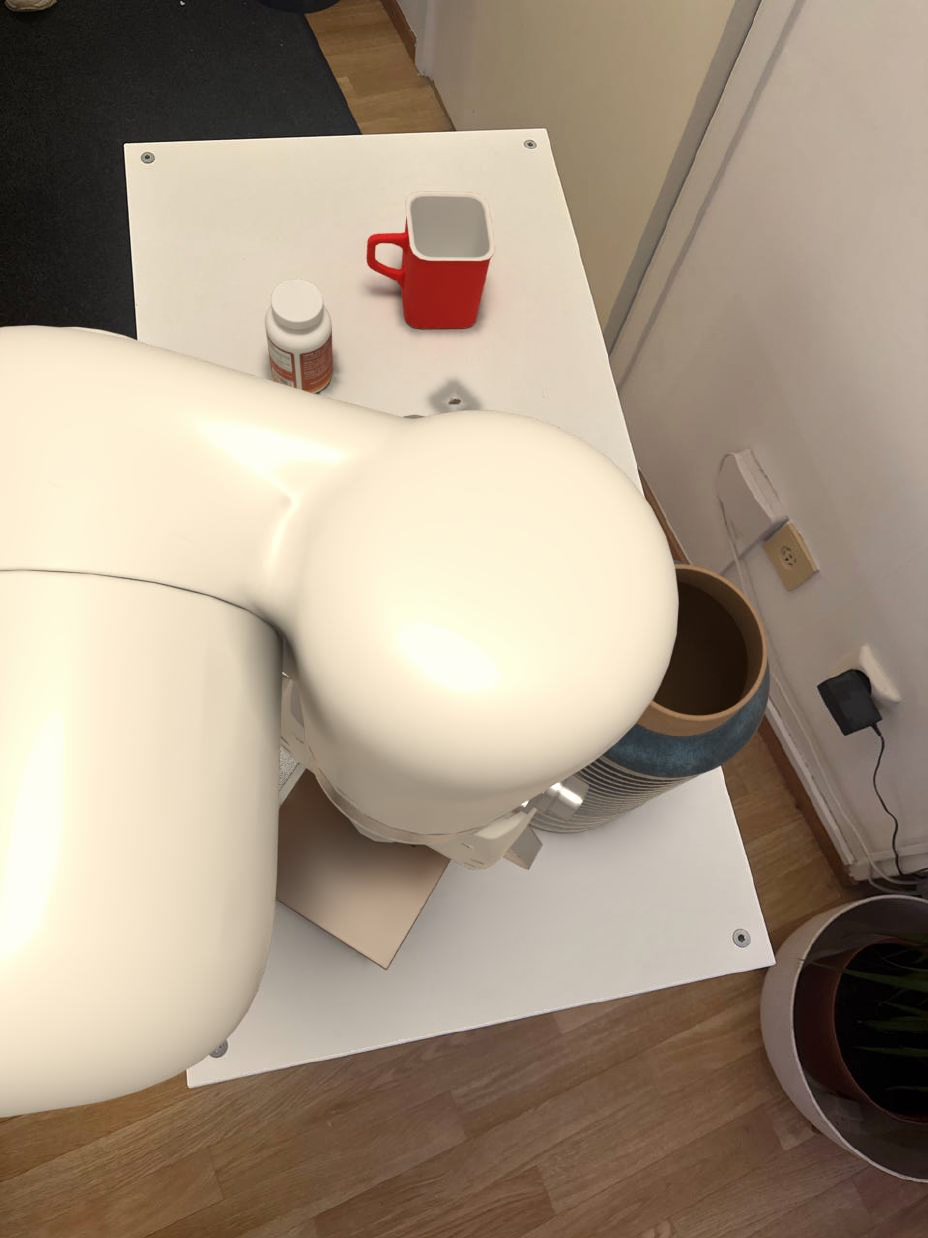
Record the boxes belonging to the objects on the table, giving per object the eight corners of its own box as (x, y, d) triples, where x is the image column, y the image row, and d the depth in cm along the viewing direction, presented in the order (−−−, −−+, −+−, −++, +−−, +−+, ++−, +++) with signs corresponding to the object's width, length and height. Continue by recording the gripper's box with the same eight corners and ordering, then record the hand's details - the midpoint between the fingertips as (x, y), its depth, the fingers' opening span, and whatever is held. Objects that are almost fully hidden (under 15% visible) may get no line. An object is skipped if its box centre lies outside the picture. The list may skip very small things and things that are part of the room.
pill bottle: (333, 347, 91) (333, 273, 80) (332, 399, 89) (331, 330, 79) (271, 343, 90) (263, 268, 80) (269, 396, 88) (260, 325, 78)
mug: (471, 267, 97) (487, 191, 87) (480, 330, 94) (497, 260, 84) (361, 266, 95) (364, 189, 85) (367, 331, 92) (371, 260, 82)
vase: (664, 814, 80) (860, 752, 50) (491, 850, 77) (591, 806, 47) (619, 644, 85) (774, 497, 55) (454, 671, 82) (524, 530, 52)
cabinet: (255, 880, 73) (205, 854, 44) (348, 739, 78) (358, 632, 49) (365, 950, 73) (386, 970, 44) (452, 804, 78) (523, 735, 49)
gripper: (712, 755, 28) (566, 818, 45) (272, 483, 29) (293, 647, 46) (605, 976, 25) (493, 953, 42) (124, 670, 26) (206, 770, 43)
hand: (389, 794), depth 44 cm, fingers closed on rook chess piece, 3 cm apart
